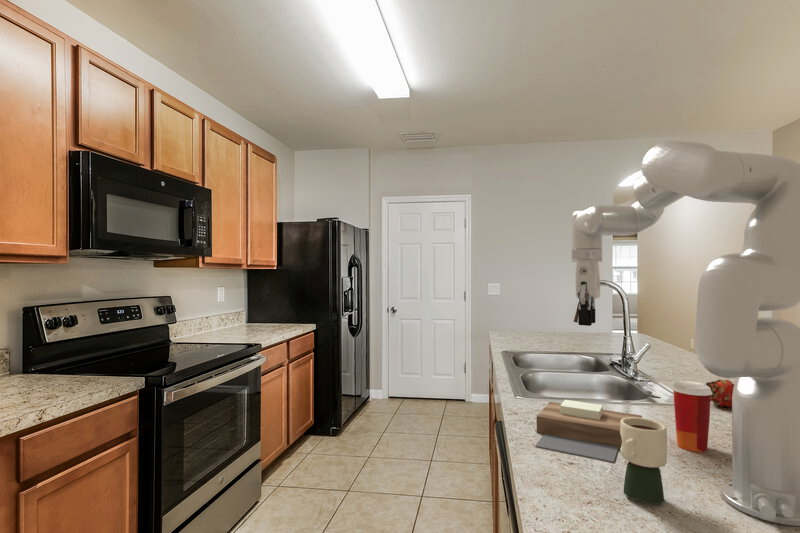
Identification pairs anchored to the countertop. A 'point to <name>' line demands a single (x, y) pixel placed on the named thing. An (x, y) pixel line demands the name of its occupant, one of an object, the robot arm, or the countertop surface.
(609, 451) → the mat
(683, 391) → the paper cup
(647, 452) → the character mug
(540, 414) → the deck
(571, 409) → the cream rectangular block
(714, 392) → the dragon fruit
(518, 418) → the countertop surface
